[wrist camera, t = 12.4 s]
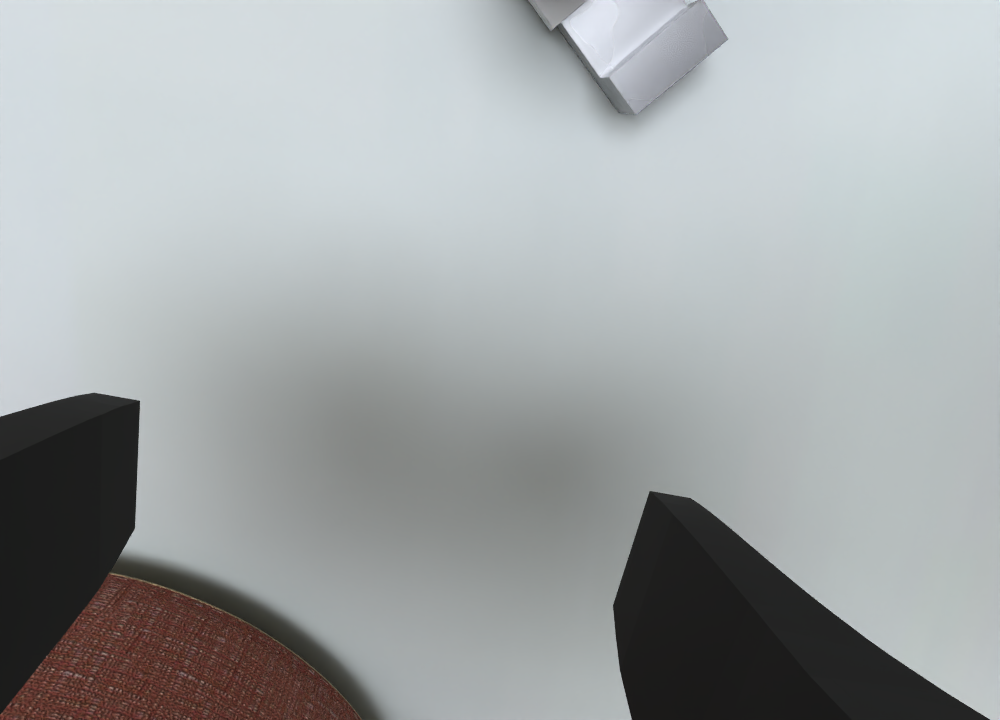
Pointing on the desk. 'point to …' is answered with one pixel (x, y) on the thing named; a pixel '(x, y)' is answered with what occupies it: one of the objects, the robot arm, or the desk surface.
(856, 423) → the desk surface
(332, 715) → the planter
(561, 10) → the lever
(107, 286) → the desk surface
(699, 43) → the rail
